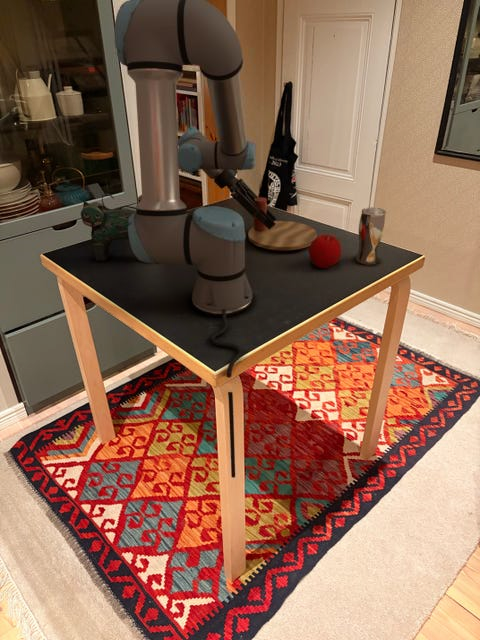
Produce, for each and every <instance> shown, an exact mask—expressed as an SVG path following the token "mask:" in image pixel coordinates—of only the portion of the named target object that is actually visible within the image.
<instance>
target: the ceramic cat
mask: <svg viewBox="0 0 480 640" xmlns="http://www.w3.org/2000/svg"><path fill="white" fill-rule="evenodd" d="M105 196H109V197H110V198H112V199H113V200H114V199H115V197H114V196H113V195H112V194H110V193H104V194H102V196H101V202H97V201H94V202H91V203H89V202H87V201H83V203H82V210H81V211H80V217H81V221H82V223H83V224H84V225H85V226H87V227H89V228H91V233H90V236H91V241H92V249H93V253H94V258H95V261H96V262H97V261H99V262H105V261H107V260H108V259H109V257H111V253H110V245H111V242H112V241H116V240H129V235H128V226H129V223H128V222H129V218H130V216H131V215H132V214H134V213H135V212H136V206H131V205H123V206H120V207H116V208H109V207H107V206H106V205H105V202H104V200H103V199H104V197H105Z"/></svg>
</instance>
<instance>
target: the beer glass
mask: <svg viewBox="0 0 480 640" xmlns="http://www.w3.org/2000/svg"><path fill="white" fill-rule="evenodd" d="M360 212H361V213H360V216H359V223H358V251H357V255H356V257H355V261H356V262H357V263H359V264H361V265H365V266H372V265H376V264H377V263H378V251H379V247H380V243H381V240H382V238H383V236H384V235H383V234H384V231H385V225H386V213H387V211H386V210H385V209H383V208H379V207H372V206H371V207H365V208H364V207H363V208H362V209H361V211H360Z"/></svg>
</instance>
